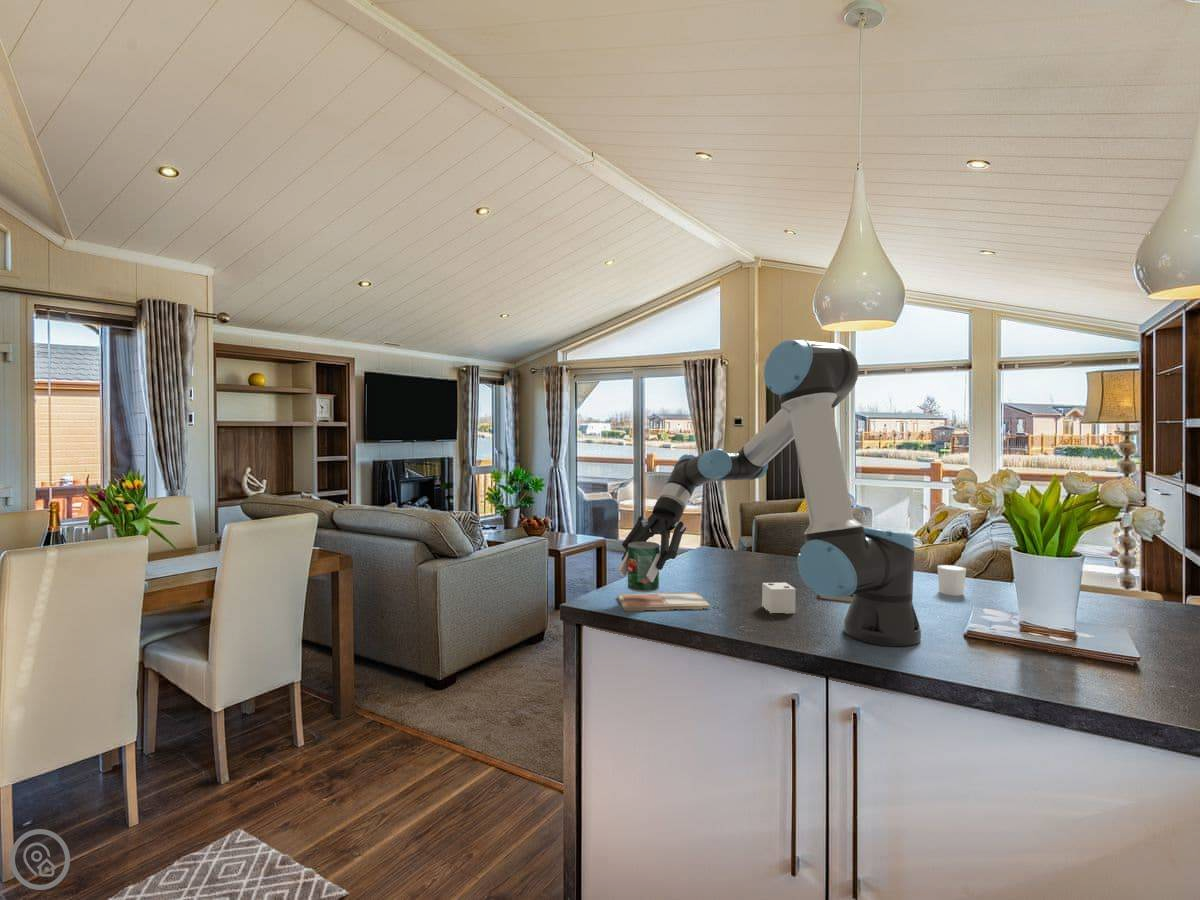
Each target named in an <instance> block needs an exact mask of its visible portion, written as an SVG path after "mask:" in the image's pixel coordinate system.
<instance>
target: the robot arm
mask: <svg viewBox="0 0 1200 900" xmlns="http://www.w3.org/2000/svg"><path fill="white" fill-rule="evenodd" d="M763 369H764V370H763V379H764V384H765V385H766V387H767V389H768V390H770V391H771V392H772V393H773V394H775V395H778V397H779V403H780V408H781V409H779V410H778V411H777V413H775V415H774V416H772V417H771V419H769V421H768V422H766V424H765V425H763V427H761V429H760V430H759V431H757V433H756V434H755V435H753V436H752V437H751V439H750V440H749V441H748V442H747V443H746V444H745V445H744V446H743V447H741V448H740V449H739V450H738V451H734V452H733V451H725V450H724V449H721V448H712V449H708V450H707V451H704V452H702V453H701V454H699V455H697V456H696V455H695V454H692V453H691V454H687V453H686V454H683V455H681V457H679V459H678V460H677V461H676V463H675V465H674V467H673V469H672V471H671V474H670V475H669V477H668V480H667V481H666V483H665V485H664V487H663V489H662V491H661V492H660V494H659V497H658V498H657V500H656V502H655V503H654V506H653V508H652V513H651V514H650V516H649V517H645V518H644V517H643V516H642V515H641V516H638V519H637V520H636V523H635V524H634V526H633V528H632V529H631V531H629V533H628V534H627V536H626V537H625V539H624V541H623V542H622V543H621V546H622V547H623V548H624V550H625V551H624V553H623V555H622V557H621V563H620V565H619V567H618V570H617V571H618V572H619V573H620V575H621V577H626V576H627V574H628V544H629V543H631V542H640V541H644V542H648V541H649V539H650V538H653V537H654V536H655V535H660V550H659V554H657V555H656V557H655V559H654V561H653V563H652V565H651V567H650V569H649V571H648V573H647V575H646V576H647V577H648V579H649V580H650V582H653V581H654V579H655V577H656V575H657V573H658V571H659V572H660V571H661V570H663V568H664V566H665V564H666V561H668V560H669V559H672V560H674V559H676V557H677V555H678V551H679V548H680V543H681V540H682V537H683V534H684V533H685V532H686V530H687V526H686V525H685V524H684V521H681V518H682V516H683V514H684V511H685V509H686V507H687V505H688V504H689V501H690V500H691V497H692V495H693V493H694V491H695V490H696V488H698V487H701V486H703V485H705V484H709V483H711V482H726V481H744V480H745V481H746V480H747V481H752V480H756V479H760V478H763V477H764V476H765V475H766V474H767V471H768V469H769V462H770V461H772V460H773V459H774V458H775V457H776V456H777V455H778V454H779V453H780V452H782V451H783V450H784V448H786V446H788V445H789V444H790V443H791V442H792V441H794V443H795V448H796V454H797V461H798V465H799V471H800V475H801V482H802V487H803V493H804V498H805V502H806V503H805V504H806V507H807V513H808V519H809V525H808V526H807V528H806V529H805V531H804V534H803V535H804V540H805V543H804V544H803V545H802V546H801V548H800V550H799V553H798V554H797V568H798V571H799V575H800V576H801V578H802V581H803V583H804V584H805V585H806V586H807V587H808V588H809V589H811V590H812V592H814V593H815V594H817V596H818V595H821V596H823V597H828V598H834V597H847V596H849V595H852V594H853V599H852V601H851V602H850V605H849V607H848V610H847V612H846V616H845V617H844V620H843V621H844V623H843V627H844V628H843V630H844V631H843V632H844V633H845V634H846V635H847V636H849V637H850V638H852V639H855V640H857V641H861V642H864V643H868V644H871V645H872V644H873V645H876V646H877V645H879V646H886V647H910V646H914V645H915V646H916V645H917V644H919V643H920V642H921V639H922V635H921V634H922V631H921V630H922V629H921V626H920V623H919V620H918V616H917V613H916V610H915V607H914V604H913V595H914V591H913V590H914V568H915V565H914V563H915V562H914V561H915V557H914V556H915V553H916V551H915V543H914V541H915V540H914V537H913V536H912V534H910V533H909V532H906V531H902V530H896V529H888V528H882V527H873V526H864V524H862V523H860V522H859V521H858V520H856V519H855V517H854V514H853V509H852V504H851V499H850V494H849V493H850V492H849V488H848V484H847V478H846V473H845V467H844V463H843V459H842V458H843V457H842V453H841V447H840V442H839V438H838V437H839V436H838V432H837V428H836V423H835V417H834V412H833V409H834V408H836V407H837V406H838V405H840V403H841V402H842V401H844V399H846V397H847V396H848V395H849V394H850V393H851V392H852V390H853V389H854V387H855V385H856V383H857V381H858V377H859V372H860V371H859V364H858V361H857V357H855V355H854V353H853V352H852V350H850V349H849V348H848V347H846V346H845V345H842V344H840V343H835V342H825V341H824V342H821V341H812V340H806V339H802V338H801V339H800V338H799V339H786V340H784V341H783V340H782V341H781V342H780V343H778V344H777V345H775V347H773V349H771V351H770V352H769V356H768V357H767V358H766V361H765V363H764V367H763ZM671 531H673V533H672V537H671ZM670 539H671V540H670Z"/></svg>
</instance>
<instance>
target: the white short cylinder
mask: <svg viewBox="0 0 1200 900" xmlns="http://www.w3.org/2000/svg"><path fill="white" fill-rule="evenodd" d="M966 574H967V568H966V567H965V566H964V567H963V566H959V565H953V564H939V565H937V578H938V592H939V593H940V594H943V595H947V596H959V597H960V596H962V595H964V589H965V581H966Z"/></svg>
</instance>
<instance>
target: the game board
mask: <svg viewBox="0 0 1200 900" xmlns="http://www.w3.org/2000/svg"><path fill="white" fill-rule="evenodd" d="M617 598H618V600H619V602H620V604H621V606H622V608H623V610H624V612H644V610H656V611H674V610H673V609H678V610H677V611H680V610H679V609H693V610H706V609H705V608H710V609H711V604H710V603H709V602H707V600H706V599H705V598H704V597H702V595H701V594H700V593H699V592H694V591H693V592H691V591H690V592H662V593H661V592H657V593H656V592H655V593H650V592H647V593H618V594H617ZM703 608H704V609H703ZM670 609H671V610H670Z"/></svg>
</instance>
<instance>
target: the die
mask: <svg viewBox="0 0 1200 900" xmlns="http://www.w3.org/2000/svg"><path fill="white" fill-rule="evenodd" d="M761 586H762V587H761V588H762V589H761V590H762V591H761V592H762V593H761V599H762V600H761V607H762V606H763V607H764V608H765V609H764V608H763V607H762V608H763V609H764V610H766V611H767V610H768V611H769V612H770V613H769V612H768V611H767V612H768V613H769V614H771V613H785V614H796V598H797V597H796V596H797V595H796V591H797V589H796V588H795V587H794V586H792V585H790V584H789V583H788V582H762V585H761Z"/></svg>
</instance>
